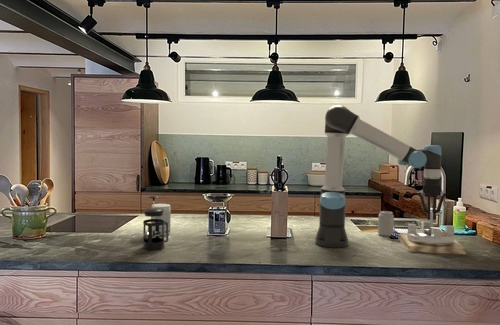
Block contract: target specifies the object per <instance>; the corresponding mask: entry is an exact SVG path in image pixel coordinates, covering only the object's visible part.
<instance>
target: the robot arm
mask: <svg viewBox="0 0 500 325" xmlns="http://www.w3.org/2000/svg"><path fill="white" fill-rule="evenodd" d="M324 117H325V118H324V134H325V135H326V137H327V138H326V139H327V140H326V141H327V142H326V154H325V155H326V156H325V170H324V184H323V186H321V187H320V188H321V189H320V197H319V226H318V229H317V232H316V235H315V237H314V240H315V242H314V243H315V245H318V246H321V247H325V248H326V247H327V248H333V249H334V248H336V249H337V248H344V247H347V246H348V245H349V237H348V234H347V232H346V228H345V226H346V225H345V224H346V222H345V221H346V202H347V200H346V194H345V193H346V189H345V188H344V187H343V176H344V165H345V164H344V160H345V150H346V149H345V146H346V137H347V136H349V135H353V136H355V137H356V138H358V139H360V140H362V141H365V142H366V143H368V144H369V145H372V146H373V147H375V148H377V149H379V150H381V151H383V152H384V153H386V154H388V155H390V156H392V157H394V158H396V159H397V163H398V165H399V166H408V167H409V166H410V167H412V168H413V169H420V168H423V187H422V189H421V190H420V191H417V195H418V196H419V199H420V203H421V207H422V211H423V212H424V213H426V217H427V218H426V219H427V221H429V222H430V228H434V225H433V224H434V221H436V214H438V213H441V212H440V211H441V209H442V206H443V202H444V199H445V197H446V196H447V193H446V192H445V191H443V190H442V187H441V186H442V179H441V178H442V177H441V176H442V154H443V153H442V146H441V145H439V144H437V145H436V144H433V145H432V144H430V145H429V144H428V145H426V144H425V145H424V147H423V149H416V148H414V147H412V146H410V145H409V144H407V143H405V142H403V141H401V140H399V139H398V138H395V137H394V136H393V135H390V134H388V133H387V132H384V131H383V130H381V129H379V128H377V127H375V126H373V125H371V124H370V123H368V122H366V121H364V120H362V119H361V118H360V115H358V114H356V113H354V112H353V111H351V110H350V109H348V108H347V107H346V106H344V105H341V104H335V105H332V106H331V107H329V108H328V109H327V111H326V113H325V115H324ZM423 195H425V196H426V204H425V200H424V197H423ZM439 195H440V198H439V200H438V204H437V197H438V196H439ZM431 201H432V204H431ZM431 205H432V208H431ZM431 209H432V212H431Z"/></svg>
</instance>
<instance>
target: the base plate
mask: <svg viewBox="0 0 500 325" xmlns="http://www.w3.org/2000/svg"><path fill="white" fill-rule="evenodd" d="M397 238H398V240H399V241H400V243H401V244H402V246H403V247H404V248H405V249H406V251H408V252H410V253H411V252H413V253H414V252H415V253H430V254H431V253H432V254H436V253H437V254H450V255H452V254H453V255H467V248H466V247H465V246H463V245H462V244H461V243H459V242H458V241H457V240H456V239H454V244H453V245H449V246H430V245H423V244H418V243H415V242H412V241H410V240H408V239H407V233H398V236H397Z"/></svg>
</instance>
